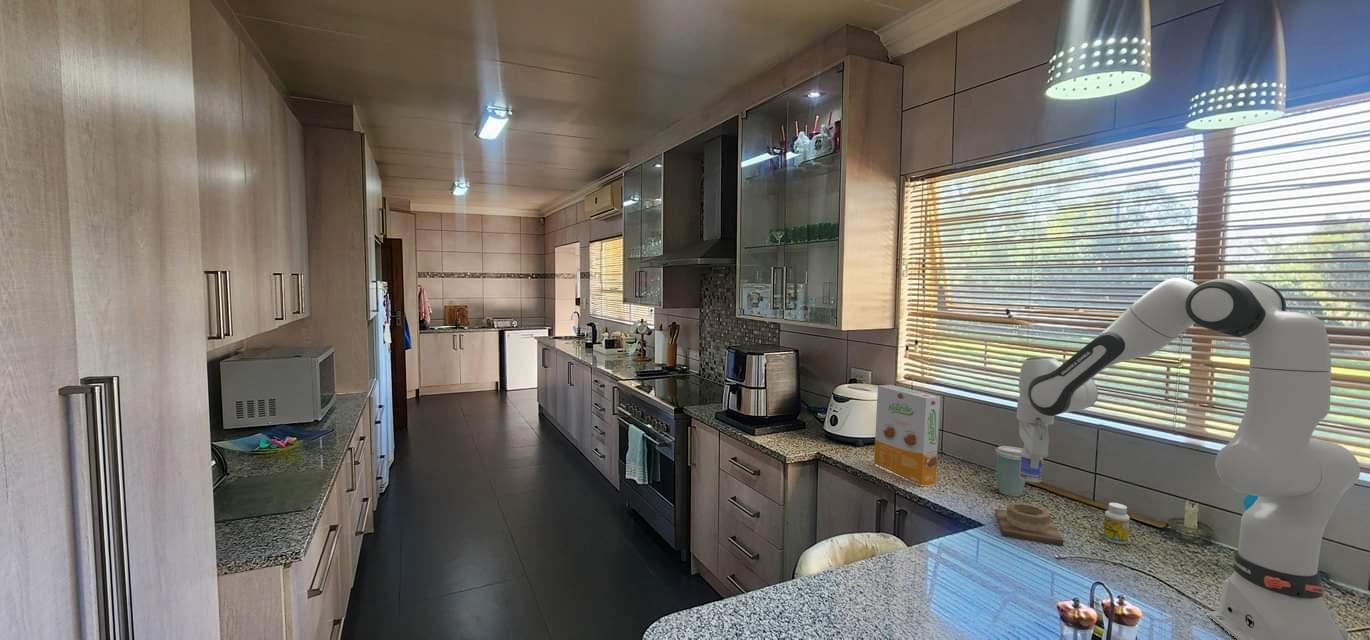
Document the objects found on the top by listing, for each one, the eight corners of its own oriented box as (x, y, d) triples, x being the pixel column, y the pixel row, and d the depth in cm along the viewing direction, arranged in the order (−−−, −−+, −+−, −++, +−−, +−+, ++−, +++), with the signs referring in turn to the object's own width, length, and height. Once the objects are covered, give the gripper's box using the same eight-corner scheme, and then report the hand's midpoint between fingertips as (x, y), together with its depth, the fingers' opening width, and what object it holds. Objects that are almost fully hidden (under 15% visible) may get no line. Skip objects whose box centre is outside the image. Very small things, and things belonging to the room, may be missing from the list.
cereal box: (935, 484, 194) (940, 397, 191) (921, 487, 191) (926, 398, 189) (887, 464, 214) (891, 384, 212) (874, 466, 212) (877, 385, 209)
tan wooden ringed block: (1063, 545, 150) (1064, 525, 150) (1002, 535, 156) (1004, 516, 155) (1049, 522, 165) (1051, 503, 165) (995, 513, 170) (996, 495, 170)
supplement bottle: (1132, 543, 153) (1135, 508, 152) (1118, 545, 151) (1121, 510, 150) (1112, 534, 158) (1115, 500, 157) (1098, 536, 156) (1100, 502, 156)
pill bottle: (1044, 484, 156) (1047, 449, 155) (1022, 481, 157) (1025, 447, 156) (1036, 477, 161) (1039, 443, 161) (1015, 475, 162) (1018, 441, 162)
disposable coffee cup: (985, 487, 192) (988, 443, 191) (1017, 487, 193) (1019, 443, 192) (1004, 499, 182) (1007, 453, 181) (1037, 499, 182) (1040, 453, 181)
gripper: (1057, 425, 147) (1053, 477, 148) (1041, 408, 166) (1037, 454, 167) (1028, 422, 149) (1024, 474, 150) (1016, 405, 168) (1012, 451, 169)
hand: (1031, 463), depth 159 cm, fingers closed on pill bottle, 5 cm apart
